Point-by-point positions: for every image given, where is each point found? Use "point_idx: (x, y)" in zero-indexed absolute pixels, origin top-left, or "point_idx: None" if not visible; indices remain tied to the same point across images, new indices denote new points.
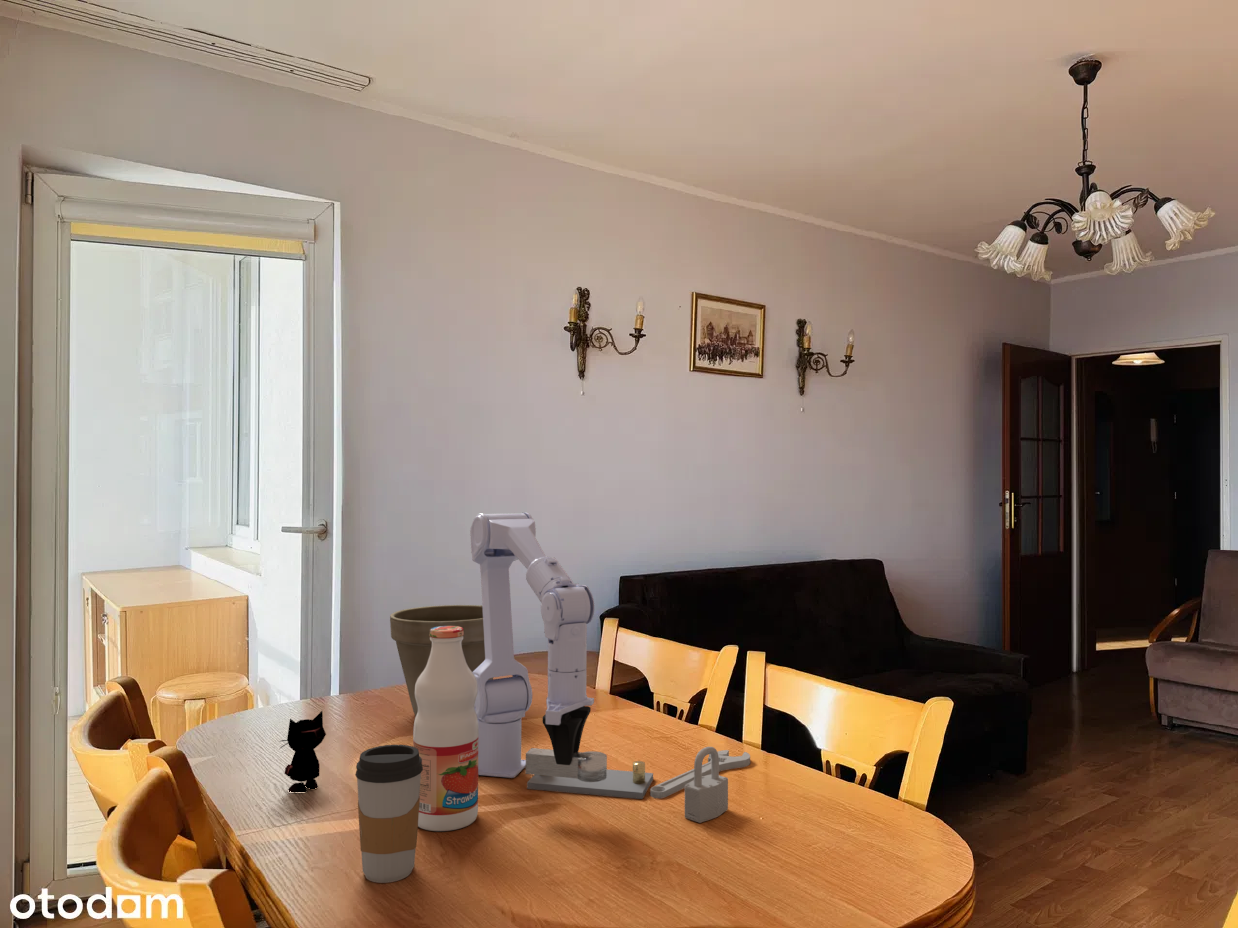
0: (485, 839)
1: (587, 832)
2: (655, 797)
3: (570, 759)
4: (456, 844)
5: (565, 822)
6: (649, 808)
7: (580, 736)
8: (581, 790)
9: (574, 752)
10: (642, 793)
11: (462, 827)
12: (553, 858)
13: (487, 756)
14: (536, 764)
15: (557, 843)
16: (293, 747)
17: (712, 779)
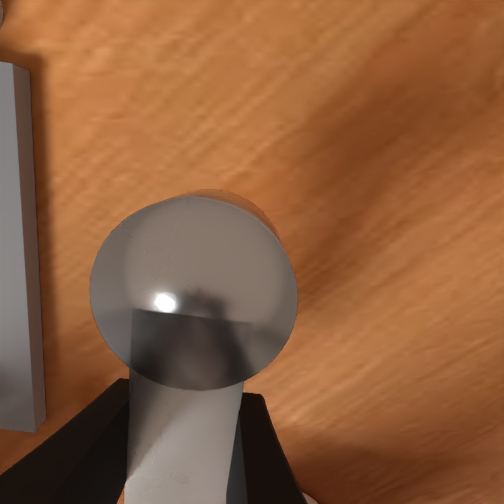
0: (363, 442)
1: (317, 225)
2: (1, 17)
3: (266, 413)
4: (388, 486)
5: None
6: (107, 37)
7: (46, 473)
8: (32, 281)
9: (143, 411)
10: (13, 64)
11: (309, 496)
12: (473, 287)
13: None
14: None
15: (387, 291)
16: None
17: None
